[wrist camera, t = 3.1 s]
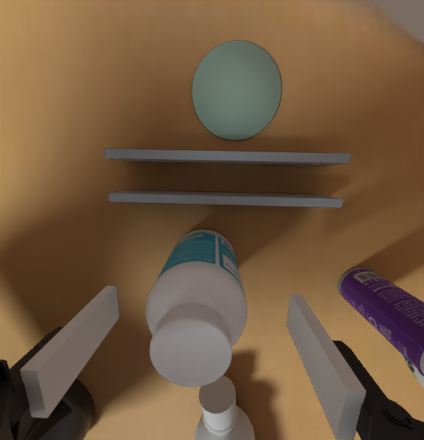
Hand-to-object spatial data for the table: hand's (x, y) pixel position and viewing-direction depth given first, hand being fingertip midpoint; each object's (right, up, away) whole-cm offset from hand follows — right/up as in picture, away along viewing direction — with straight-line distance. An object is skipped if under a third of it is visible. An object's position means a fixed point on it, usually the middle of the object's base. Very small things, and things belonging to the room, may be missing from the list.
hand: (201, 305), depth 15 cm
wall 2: (+2, +9, +8) cm, 12 cm away
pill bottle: (0, +2, +9) cm, 10 cm away
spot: (+3, +19, +5) cm, 20 cm away
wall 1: (+2, +13, +7) cm, 15 cm away
